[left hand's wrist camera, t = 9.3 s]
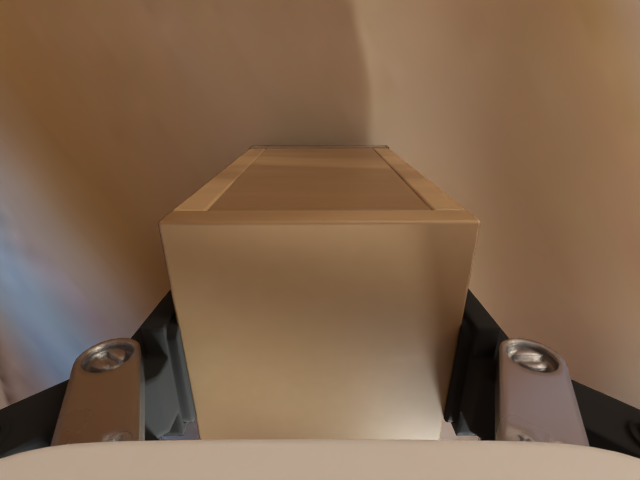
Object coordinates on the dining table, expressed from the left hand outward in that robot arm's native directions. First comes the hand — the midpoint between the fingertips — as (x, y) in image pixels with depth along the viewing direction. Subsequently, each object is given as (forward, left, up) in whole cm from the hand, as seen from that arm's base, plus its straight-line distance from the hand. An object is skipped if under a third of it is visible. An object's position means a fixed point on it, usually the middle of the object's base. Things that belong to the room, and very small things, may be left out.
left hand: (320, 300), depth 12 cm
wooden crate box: (+5, -3, -7) cm, 9 cm away
